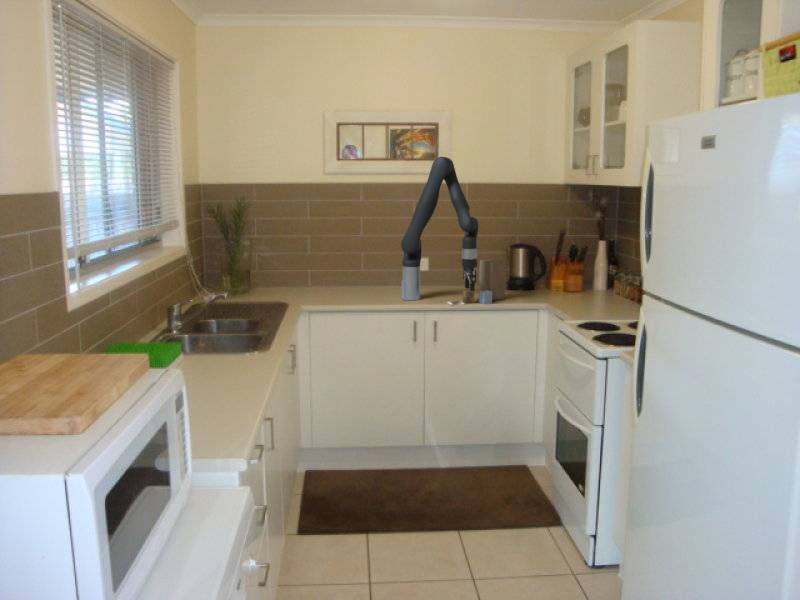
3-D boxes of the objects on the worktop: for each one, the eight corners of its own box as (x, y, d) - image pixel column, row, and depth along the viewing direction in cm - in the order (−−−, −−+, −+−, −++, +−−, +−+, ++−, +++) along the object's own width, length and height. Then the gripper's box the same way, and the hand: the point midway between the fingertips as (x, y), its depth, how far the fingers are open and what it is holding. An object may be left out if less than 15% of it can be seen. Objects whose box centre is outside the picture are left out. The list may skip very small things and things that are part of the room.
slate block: (484, 304, 351) (484, 292, 350) (479, 302, 355) (479, 291, 354) (491, 303, 353) (492, 291, 352) (486, 302, 357) (487, 290, 356)
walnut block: (465, 303, 353) (465, 291, 352) (462, 302, 357) (463, 290, 356) (474, 303, 354) (474, 291, 352) (471, 301, 358) (471, 290, 357)
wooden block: (505, 299, 364) (506, 260, 361) (490, 301, 359) (491, 262, 355) (493, 296, 373) (494, 258, 369) (478, 298, 368) (478, 259, 364)
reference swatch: (450, 305, 349) (450, 303, 349) (447, 302, 356) (447, 301, 356) (464, 304, 350) (464, 303, 350) (460, 301, 357) (460, 300, 357)
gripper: (458, 256, 357) (458, 287, 360) (466, 259, 344) (466, 292, 347) (472, 255, 359) (472, 287, 362) (481, 258, 345) (481, 291, 348)
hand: (469, 289), depth 354 cm, fingers open, 8 cm apart
